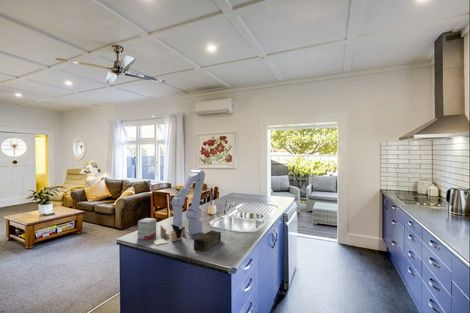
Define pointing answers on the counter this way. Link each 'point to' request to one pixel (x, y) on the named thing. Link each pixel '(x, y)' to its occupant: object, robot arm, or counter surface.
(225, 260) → the counter surface
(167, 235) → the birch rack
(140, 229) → the ink box
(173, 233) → the terracotta block
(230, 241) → the counter surface
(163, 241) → the white tile
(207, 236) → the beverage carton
